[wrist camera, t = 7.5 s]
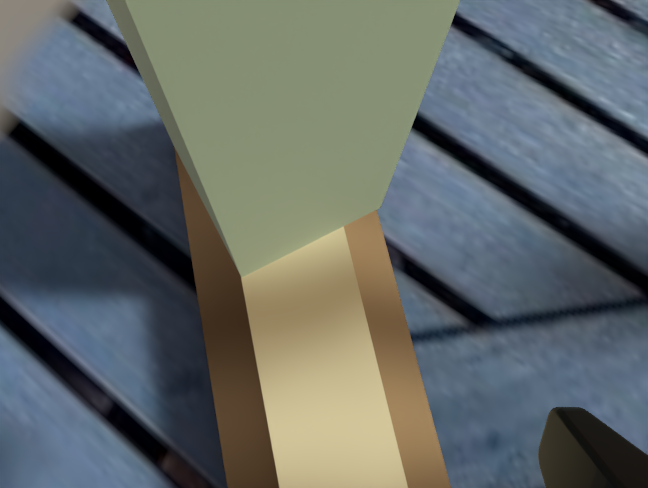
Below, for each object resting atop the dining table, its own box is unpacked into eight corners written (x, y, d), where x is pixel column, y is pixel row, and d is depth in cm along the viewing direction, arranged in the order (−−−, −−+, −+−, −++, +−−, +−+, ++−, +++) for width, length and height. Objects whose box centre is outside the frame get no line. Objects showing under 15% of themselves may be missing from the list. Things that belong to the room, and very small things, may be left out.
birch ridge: (471, 589, 18) (511, 629, 14) (257, 648, 17) (246, 705, 14) (344, 109, 23) (351, 57, 19) (176, 139, 22) (154, 89, 19)
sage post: (380, 207, 18) (525, -171, 6) (241, 277, 17) (118, -16, 5) (307, 89, 19) (319, -407, 8) (175, 148, 18) (-40, -313, 7)
